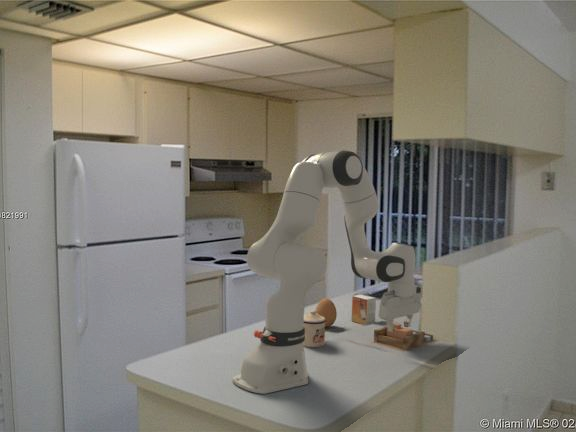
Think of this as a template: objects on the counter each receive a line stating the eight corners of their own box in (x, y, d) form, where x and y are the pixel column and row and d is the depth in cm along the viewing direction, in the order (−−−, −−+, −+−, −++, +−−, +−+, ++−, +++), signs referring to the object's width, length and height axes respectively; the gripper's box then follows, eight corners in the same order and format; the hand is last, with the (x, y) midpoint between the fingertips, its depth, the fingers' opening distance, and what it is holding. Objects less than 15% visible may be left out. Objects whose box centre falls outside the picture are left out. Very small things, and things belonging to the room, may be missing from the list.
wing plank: (427, 341, 191) (427, 337, 191) (398, 334, 200) (398, 330, 200) (430, 340, 193) (430, 336, 193) (402, 333, 202) (402, 329, 202)
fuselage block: (405, 346, 185) (406, 328, 185) (386, 341, 191) (387, 323, 191) (412, 344, 188) (413, 326, 188) (393, 338, 194) (393, 321, 194)
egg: (337, 330, 208) (337, 301, 207) (315, 329, 208) (315, 300, 207) (335, 324, 216) (336, 296, 215) (314, 324, 216) (315, 296, 215)
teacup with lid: (316, 349, 184) (316, 315, 183) (293, 344, 189) (294, 311, 189) (334, 341, 194) (335, 308, 193) (312, 336, 199) (313, 305, 198)
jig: (403, 354, 181) (403, 339, 180) (371, 345, 190) (371, 330, 190) (435, 342, 194) (436, 328, 194) (404, 334, 204) (405, 321, 203)
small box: (351, 321, 221) (351, 295, 221) (360, 319, 225) (361, 294, 224) (366, 325, 215) (367, 299, 215) (375, 323, 219) (376, 297, 218)
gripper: (390, 294, 179) (388, 336, 180) (424, 287, 193) (423, 326, 194) (375, 291, 183) (373, 331, 184) (409, 284, 198) (408, 322, 198)
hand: (399, 328), depth 189 cm, fingers open, 8 cm apart
